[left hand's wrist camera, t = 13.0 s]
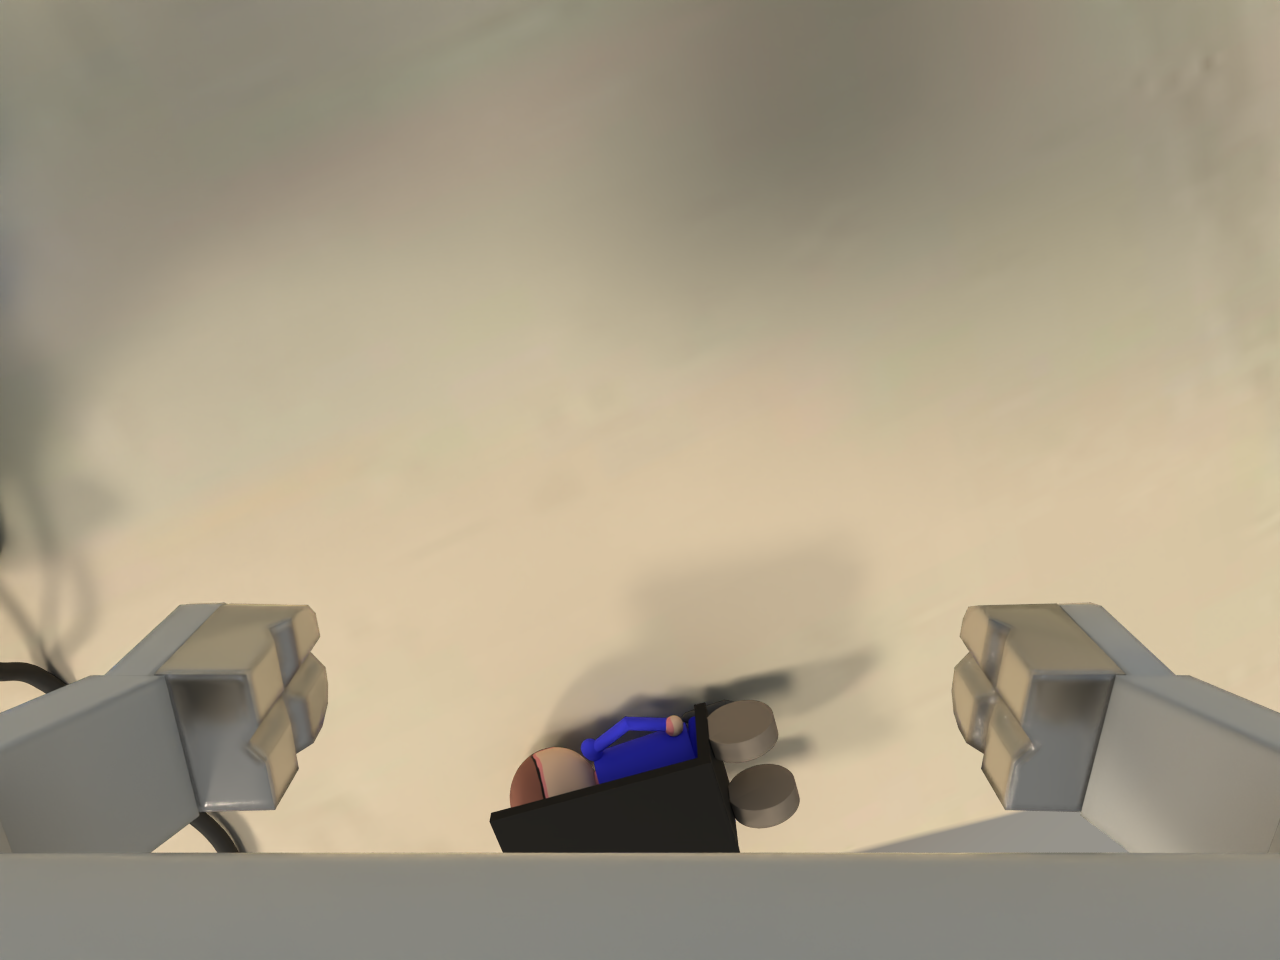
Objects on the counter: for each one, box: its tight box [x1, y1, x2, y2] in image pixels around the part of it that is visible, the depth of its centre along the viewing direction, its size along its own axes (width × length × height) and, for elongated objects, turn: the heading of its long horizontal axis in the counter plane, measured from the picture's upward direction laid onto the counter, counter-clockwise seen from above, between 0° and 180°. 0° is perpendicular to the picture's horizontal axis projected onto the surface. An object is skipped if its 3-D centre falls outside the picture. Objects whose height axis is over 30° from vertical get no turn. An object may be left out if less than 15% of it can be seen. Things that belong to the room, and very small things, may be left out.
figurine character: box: [490, 700, 800, 853], centre depth 42 cm, size 7×8×15 cm
